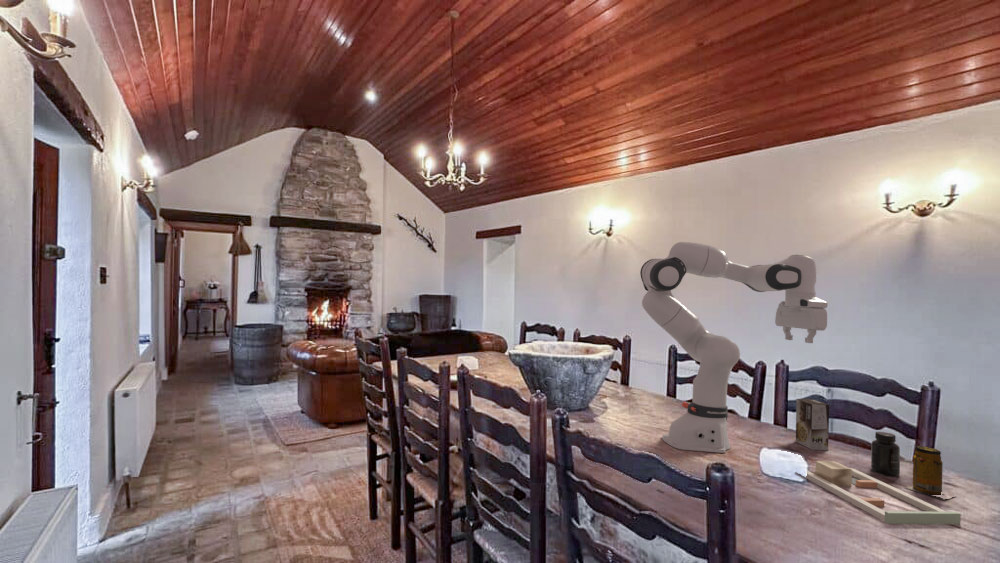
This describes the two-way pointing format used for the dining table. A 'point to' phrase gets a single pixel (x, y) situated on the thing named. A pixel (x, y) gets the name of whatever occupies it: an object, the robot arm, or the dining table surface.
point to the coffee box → (812, 424)
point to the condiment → (927, 471)
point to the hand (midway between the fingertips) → (798, 341)
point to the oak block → (834, 473)
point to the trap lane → (871, 504)
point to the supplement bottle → (885, 454)
